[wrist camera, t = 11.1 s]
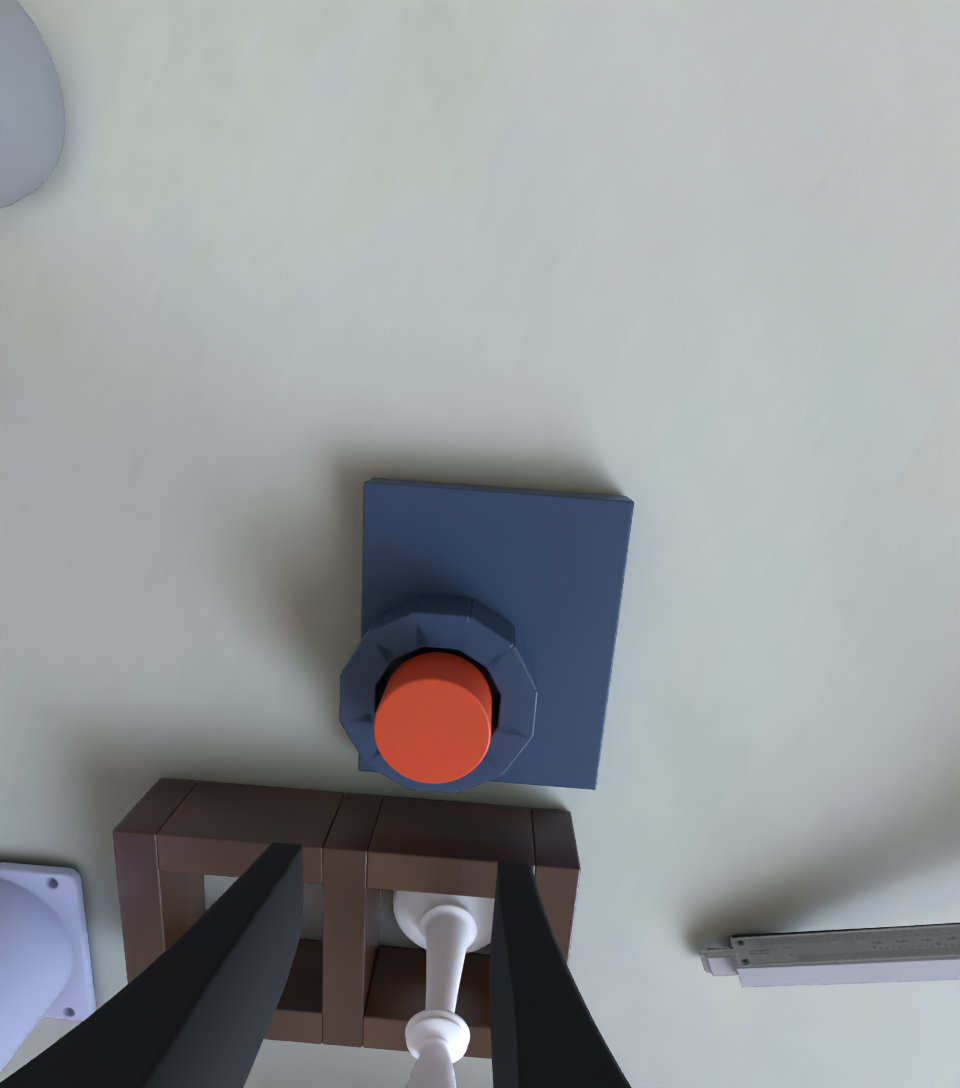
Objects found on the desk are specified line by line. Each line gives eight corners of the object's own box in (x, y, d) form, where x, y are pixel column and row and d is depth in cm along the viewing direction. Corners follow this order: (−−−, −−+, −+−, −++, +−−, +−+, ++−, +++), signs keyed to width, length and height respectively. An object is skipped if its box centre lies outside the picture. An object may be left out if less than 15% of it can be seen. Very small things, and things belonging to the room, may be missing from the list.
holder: (173, 956, 25) (131, 1028, 22) (159, 777, 23) (111, 830, 20) (548, 988, 25) (555, 1065, 22) (570, 810, 23) (581, 869, 20)
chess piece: (370, 899, 24) (285, 1227, 15) (441, 824, 23) (399, 1122, 14) (461, 960, 25) (436, 1314, 15) (533, 889, 24) (556, 1219, 14)
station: (358, 752, 23) (338, 803, 20) (364, 477, 20) (341, 488, 17) (591, 770, 22) (604, 824, 20) (626, 496, 20) (648, 511, 17)
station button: (383, 743, 20) (371, 779, 18) (386, 646, 19) (374, 673, 17) (488, 752, 20) (486, 789, 18) (495, 655, 19) (495, 683, 17)
